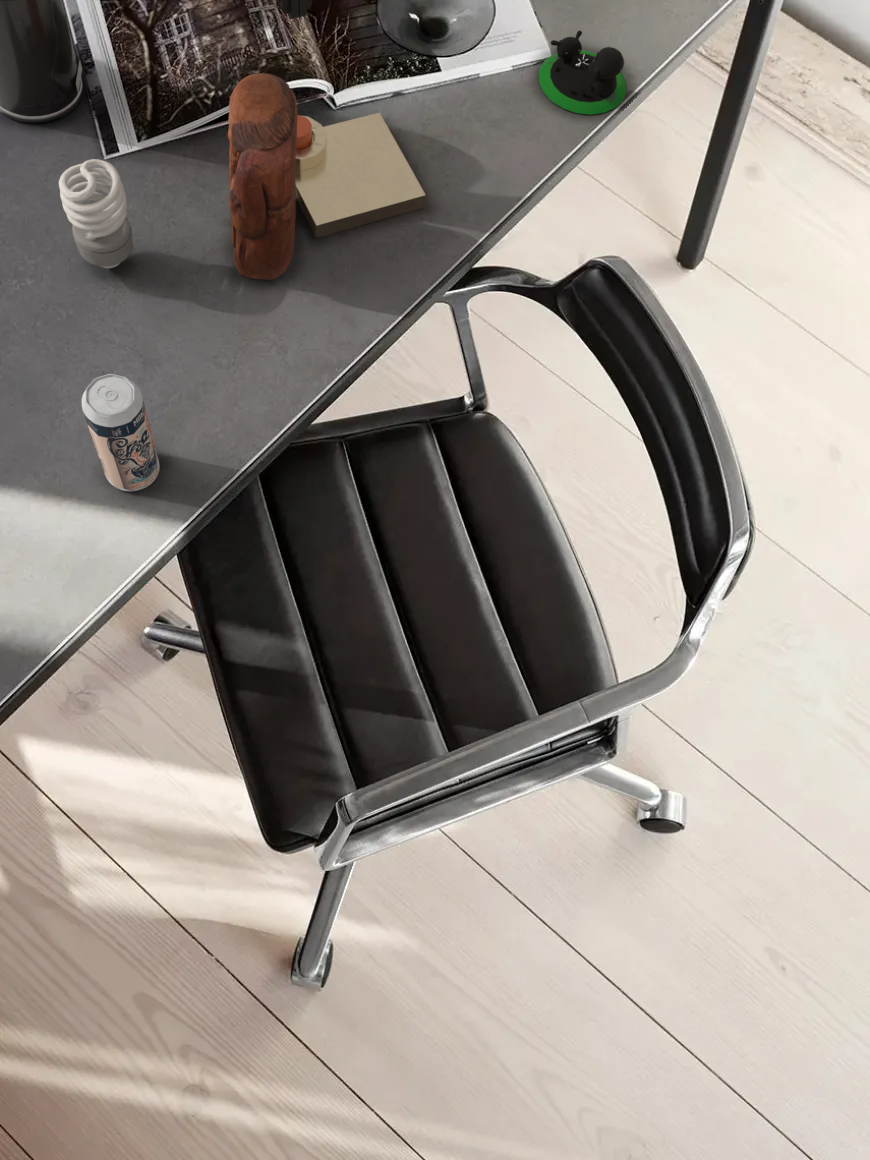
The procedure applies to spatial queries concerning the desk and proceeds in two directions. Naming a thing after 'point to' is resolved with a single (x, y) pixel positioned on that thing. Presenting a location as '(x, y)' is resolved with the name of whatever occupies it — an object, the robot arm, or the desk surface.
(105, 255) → the light bulb
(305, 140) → the button
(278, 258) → the wooden figurine
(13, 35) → the robot arm
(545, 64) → the toy figurine
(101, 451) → the beer can
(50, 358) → the desk surface
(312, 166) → the scale
